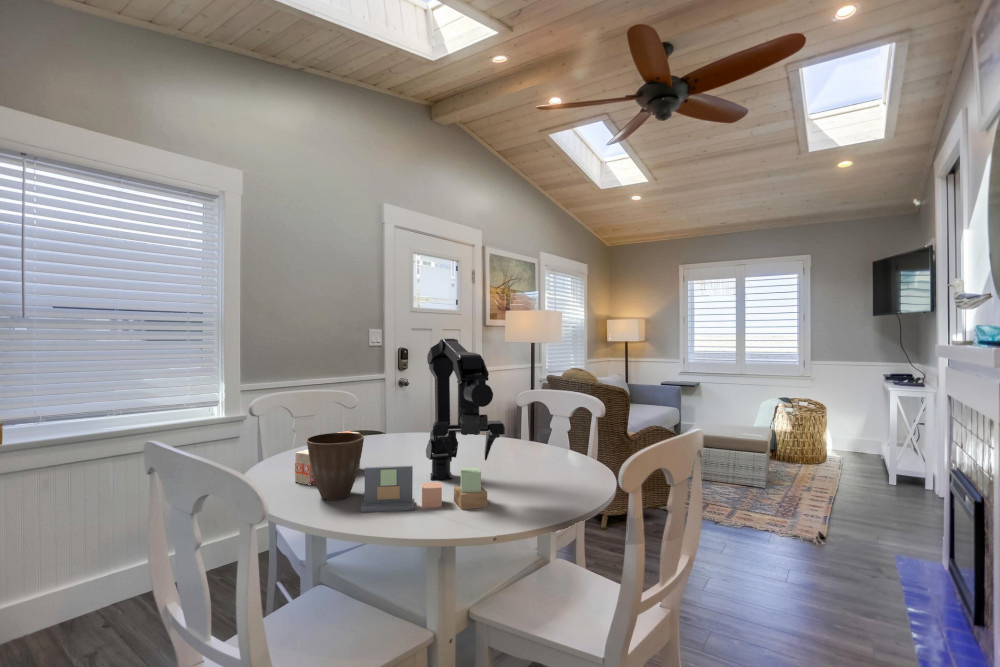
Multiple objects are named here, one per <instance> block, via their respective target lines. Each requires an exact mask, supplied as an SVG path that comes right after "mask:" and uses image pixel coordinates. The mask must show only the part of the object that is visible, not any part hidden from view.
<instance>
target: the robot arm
mask: <svg viewBox="0 0 1000 667" xmlns="http://www.w3.org/2000/svg"><path fill="white" fill-rule="evenodd" d="M426 358H427V364H428V369H429V371H430V373H431V374H432V376H433V377H434V419H435V420H434V422H433V423H432V430H431V432H430V434H429V440H428V442H427V446H426V448H425V456H426V458H427V459H428V460H430V461H431V472H430V480H431V481H435V480H436V481H439V480H453V474H452V471H451V462H452V461H453V458H457V455H458V448H459V441H458V439H457V433H458V432H459V433H460V434H461V435H462V436H467V435H474V436H478V435H480V434H481V432H486V435H485V445H484V461H487V459H488V458H489V454H490V451H491V448H492V446H493V443H494V441H495V440H496V439H498V438H500V437H501V435H505V434H506V429H505V428H506V427H505V425H504V422H502V421H501V420H488V417H489V416H488V414H480V407H481V408H484V407H487V406H488V405H490V403H492V401H493V398H494V392H493V389H492V388H491V386H490V385H488V384H486V383H487V382H486V381H489V376H490V374H489V371H488V368H487V365H486V363H485V360H484V359H483V357H482V356H481V354H480V353H476V352H472V351H471V352H470V351H468V350H466V348H465V347H464V346H462V345H461V344H460V342H459V340H458V339H457V338H442V339H440V340H439V342H438V343H436V344H434V345H433V346H432V347H430V349H429V351H428V353H427V356H426ZM453 373H454V374H455V376H456V379H457V381H456V382H457V424H451V398H450V397H451V393H450V391H451V390H450V388H451V387H450V386H451V385H450V383H451V382H450V379H451V377H452V374H453Z"/></svg>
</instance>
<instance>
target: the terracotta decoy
mask: <svg viewBox="0 0 1000 667" xmlns="http://www.w3.org/2000/svg"><path fill="white" fill-rule="evenodd" d="M442 490H443V488H442V481H437V482H422V483H421V508H422V509H424V508H427V509H428V508H442V506H443V504H442V503H443V498H442V496H443V493H442V492H443V491H442Z"/></svg>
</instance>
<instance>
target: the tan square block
mask: <svg viewBox="0 0 1000 667" xmlns="http://www.w3.org/2000/svg"><path fill="white" fill-rule="evenodd" d="M453 502H454V504H455V505H456V506H457V507H458V508H459V510H467V509H468V510H469V509H477V508H478V509H479V508H486V507H488V491H487V490H486V489H485V488H484V487H482V486H481V492H462V493H461V485H460V486H454V487H453Z"/></svg>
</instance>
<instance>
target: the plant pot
mask: <svg viewBox="0 0 1000 667" xmlns="http://www.w3.org/2000/svg"><path fill="white" fill-rule="evenodd" d="M364 439H365V436H364V435H363V434H361V433H360V434H358V433H337V432H330V433H320V434H316V435H312V436H310V437H307V439H306V446H307V449H308V453H309V458H310V463H311V468H312V472H313V475H314V479H315V482H316V483H315V485H316V487H317V490H318V492H319V495H320V497H322V498H321V499H323V500H325V499H328V500H327V501H337V500H338V499H339V500H343V499H346V498H348V497H349V496H350V495H351V492H352V490H353V487H354V484H355V481H356V478H357V474H358V471H359V469H358V467H359V463H360V464H361V458H362V453H363V446H364ZM339 500H338V501H339Z"/></svg>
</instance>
